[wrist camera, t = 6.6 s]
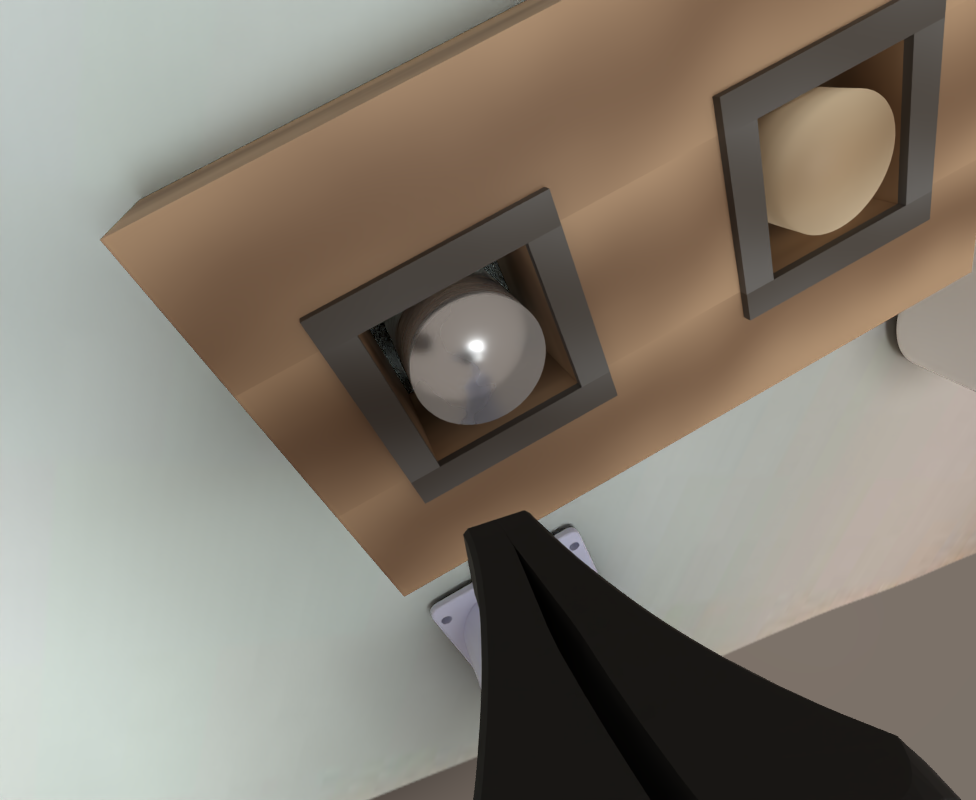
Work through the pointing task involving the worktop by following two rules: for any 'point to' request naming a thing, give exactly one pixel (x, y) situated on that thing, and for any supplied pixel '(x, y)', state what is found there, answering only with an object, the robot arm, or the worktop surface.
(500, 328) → the metal peg
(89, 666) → the worktop surface
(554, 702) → the robot arm
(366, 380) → the socket block
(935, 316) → the beverage can
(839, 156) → the maple peg
